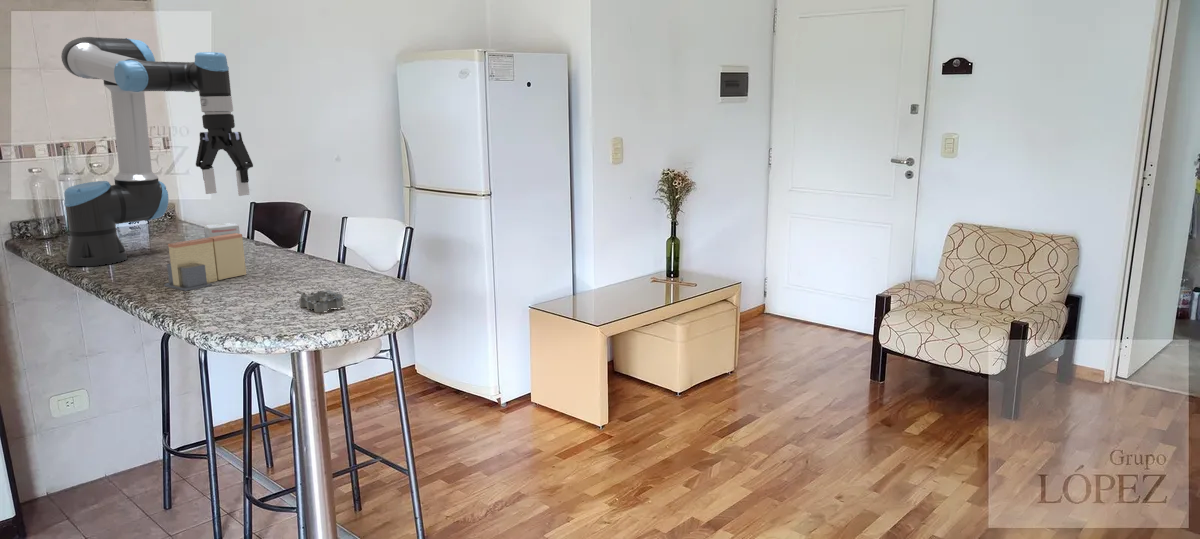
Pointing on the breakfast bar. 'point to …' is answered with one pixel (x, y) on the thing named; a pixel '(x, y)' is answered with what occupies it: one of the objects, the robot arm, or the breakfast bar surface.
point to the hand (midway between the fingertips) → (227, 194)
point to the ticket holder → (191, 264)
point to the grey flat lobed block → (321, 300)
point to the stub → (229, 255)
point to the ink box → (221, 229)
